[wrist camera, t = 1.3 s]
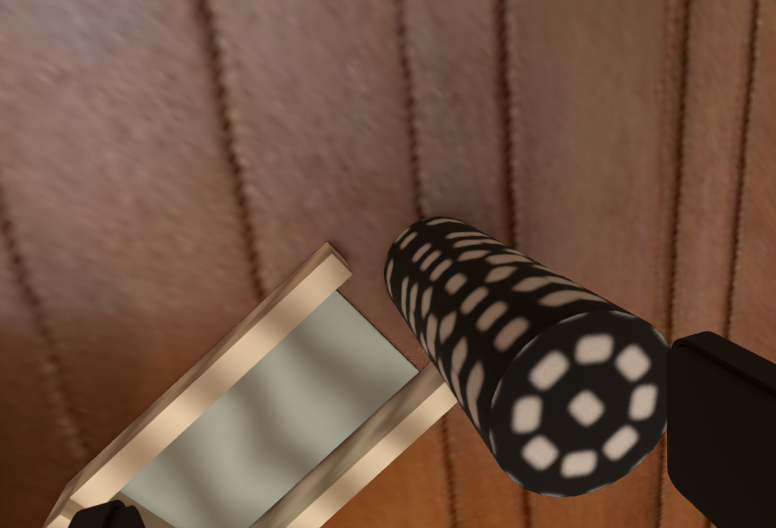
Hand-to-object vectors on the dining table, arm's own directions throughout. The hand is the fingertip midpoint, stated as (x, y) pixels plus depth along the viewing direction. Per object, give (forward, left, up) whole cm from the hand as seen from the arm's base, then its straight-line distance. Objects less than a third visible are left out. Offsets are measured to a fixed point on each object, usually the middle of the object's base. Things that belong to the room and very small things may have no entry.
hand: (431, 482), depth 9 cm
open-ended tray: (+13, +10, -29) cm, 33 cm away
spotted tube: (-4, +10, -29) cm, 31 cm away
